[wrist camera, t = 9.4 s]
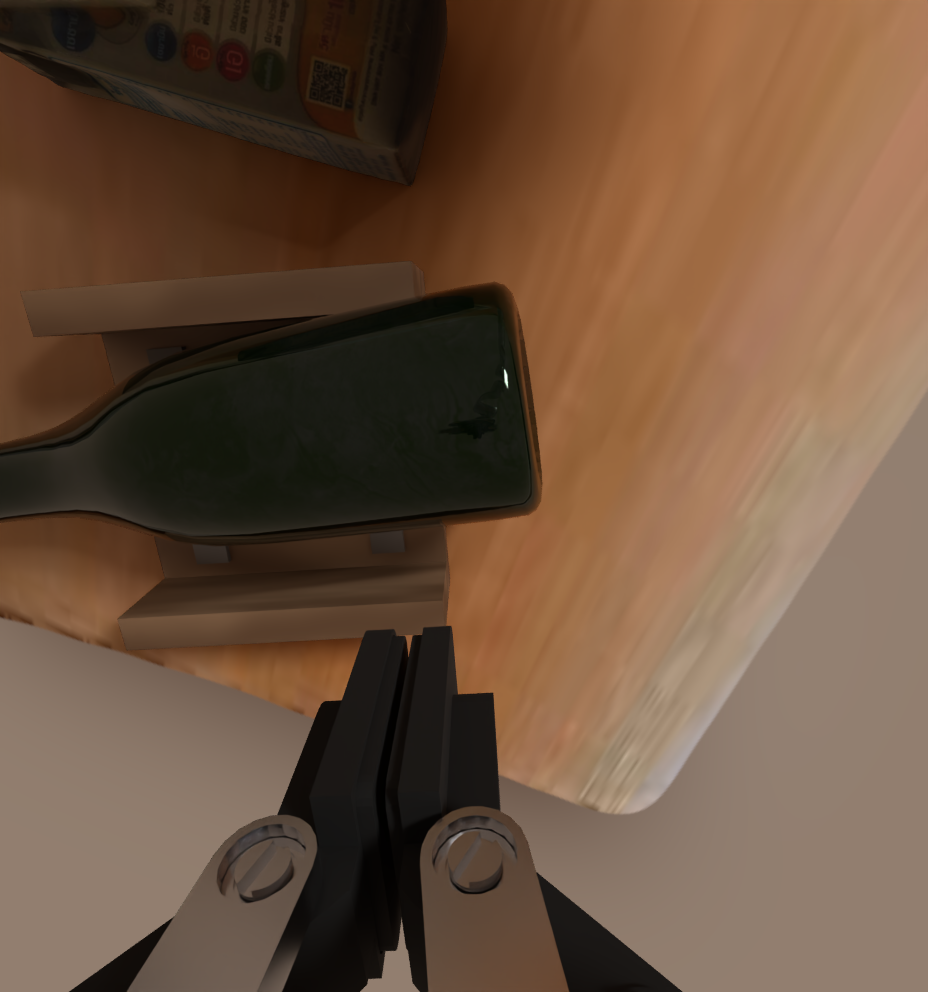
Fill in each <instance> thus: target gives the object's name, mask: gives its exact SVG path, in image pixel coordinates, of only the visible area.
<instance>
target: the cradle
mask: <svg viewBox="0 0 928 992" xmlns="http://www.w3.org/2000/svg"><path fill="white" fill-rule="evenodd" d="M20 293H21V296H22V299H23V303H24V306H25V309H26V313H27V316H28V320H29V323H30V326H31V330H32V333H33V336H34V337H40V336H62V335H85V334H102V338H103V342H104V346H105V349H106V353H107V357H108V361H109V365H110V369H111V373H112V376H113V380H114V384H115V385H117V384H118V383H120V382H121V381H122V380H124V379H125V378H127V377H128V376H129V375H131V374H132V373H133V372H135V371H137V370H139V369H141V368H143V367H145V366H148V365H150V364H152V363H154V362H156V361H159V360H161V359H163V358H165V357H167V356H170V355H172V354H174V353H176V352H180V351H183V350H187V349H190V348H194V347H198V346H201V345H205V344H209V343H212V342H216V341H220V340H223V339H227V338H231V337H235V336H239V335H244V334H248V333H253V332H257V331H262V330H266V329H270V328H275V327H279V326H284V325H288V324H293V323H297V322H301V321H306V320H310V319H315V318H319V317H324V316H329V315H333V314H338V313H342V312H347V311H351V310H356V309H360V308H365V307H369V306H374V305H378V304H383V303H387V302H392V301H397V300H402V299H406V298H411V297H416V296H421V295H425V285H424V274H423V271H422V270H420V269H419V268H418V267H417V266H416V265H415V264H414V263H413V262H412V261H404V262H392V263H379V264H366V265H353V266H340V267H327V268H315V269H302V270H289V271H276V272H263V273H250V274H237V275H225V276H212V277H199V278H186V279H173V280H160V281H148V282H135V283H122V284H109V285H96V286H83V287H71V288H58V289H45V290H32V291H20ZM154 538H155V542H156V546H157V549H158V553H159V557H160V561H161V565H162V569H163V573H164V576H165V579H164V580H163V581H161V582H160V583H159V584H158V585H157V586H156V587H154V588H153V589H152V590H151V591H150V592H149V593H147V594H146V595H145V596H144V597H143V598H141V599H140V600H139V601H138V602H137V603H136V604H134V605H133V606H132V607H131V608H130V609H129V610H127V611H126V612H125V613H124V614H123V615H122V616H120V617H119V618H118V619H117V620H118V623H119V627H120V630H121V633H122V637H123V640H124V644H125V647H126V650H145V649H163V648H181V647H199V646H218V645H236V644H254V643H272V642H291V641H309V640H327V639H345V638H363V637H364V634H365V632H366V631H367V630H384V629H394V630H395V632H396V636H400V635H418V634H422V632H423V628H424V627H439V626H446V622H447V610H448V598H449V586H450V574H449V563H448V551H447V540H446V528H445V526H442V527H434V528H424V529H415V530H405V531H395V532H386V533H376V534H366V535H357V536H347V537H337V538H327V539H316V540H306V541H296V542H286V543H272V544H255V545H237V546H205V545H194V544H182V543H178V542H174V541H170V540H166V539H162V538H159V537H155V536H154Z"/></svg>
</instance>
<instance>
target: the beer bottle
mask: <svg viewBox="0 0 928 992" xmlns="http://www.w3.org/2000/svg"><path fill="white" fill-rule="evenodd" d="M541 497H542V471H541V461H540V451H539V443H538V434H537V426H536V418H535V411H534V403H533V395H532V389H531V382H530V375H529V368H528V361H527V355H526V349H525V342H524V336H523V331H522V325H521V319H520V315H519V311H518V308H517V305H516V302H515V299H514V296H513V293H512V292H511V291H510V290H509V289H508V288H507V287H506V286H505V285H503V284H500V283H497V282H491V283H484V284H478V285H471V286H464V287H459V288H454V289H450V290H445V291H440V292H435V293H430V294H426V295H421V296H416V297H411V298H406V299H402V300H397V301H392V302H387V303H383V304H378V305H374V306H369V307H365V308H360V309H356V310H351V311H347V312H342V313H338V314H333V315H329V316H324V317H319V318H315V319H310V320H306V321H301V322H297V323H293V324H288V325H284V326H279V327H275V328H270V329H266V330H262V331H257V332H253V333H248V334H244V335H239V336H235V337H231V338H227V339H223V340H220V341H216V342H212V343H209V344H205V345H201V346H198V347H194V348H190V349H187V350H183V351H180V352H176V353H174V354H172V355H170V356H167V357H165V358H163V359H161V360H159V361H156V362H154V363H152V364H150V365H148V366H145V367H143V368H141V369H139V370H137V371H135V372H133V373H132V374H131V375H129V376H128V377H127V378H125V379H124V380H122V381H121V382H120V383H118V384H117V385H115V386H114V387H113V388H111V389H110V390H109V391H108V392H106V393H105V394H104V395H102V396H101V397H100V398H99V399H97V400H96V401H95V402H93V403H92V404H91V405H90V406H88V407H87V408H85V409H84V410H83V411H81V412H80V413H78V414H77V415H75V416H74V417H73V418H71V419H70V420H68V421H66V422H64V423H62V424H60V425H59V426H57V427H54V428H51V429H49V430H46V431H43V432H40V433H37V434H35V435H32V436H28V437H24V438H20V439H16V440H12V441H8V442H4V443H0V523H3V522H12V521H20V520H32V519H46V518H81V519H88V520H95V521H102V522H105V523H109V524H113V525H117V526H120V527H124V528H127V529H130V530H134V531H137V532H140V533H144V534H147V535H151V536H155V537H159V538H162V539H166V540H170V541H174V542H178V543H182V544H194V545H205V546H237V545H255V544H272V543H286V542H296V541H306V540H316V539H327V538H337V537H347V536H357V535H366V534H376V533H386V532H395V531H405V530H415V529H424V528H434V527H442V526H451V525H460V524H469V523H478V522H486V521H495V520H502V519H508V518H514V517H520V516H526V515H530V514H531V513H533V512H534V511H536V510H537V508H538V506H539V504H540V502H541Z"/></svg>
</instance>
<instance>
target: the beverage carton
mask: <svg viewBox="0 0 928 992" xmlns="http://www.w3.org/2000/svg"><path fill="white" fill-rule="evenodd" d="M446 38H447V10H446V0H0V51H1V52H3V53H4V54H6V55H7V56H9V57H11V58H13V59H14V60H16V61H18V62H20V63H22V64H23V65H25V66H26V67H28V68H30V69H31V70H33V71H35V72H36V73H38V74H40V75H42V76H45V77H47V78H48V79H50V80H51V81H53V82H54V83H55V84H57V85H59V86H62V87H65V88H69V89H72V90H76V91H79V92H82V93H85V94H89V95H92V96H96V97H100V98H104V99H108V100H112V101H116V102H119V103H123V104H126V105H130V106H133V107H136V108H140V109H143V110H146V111H149V112H153V113H156V114H159V115H162V116H166V117H169V118H173V119H177V120H180V121H184V122H187V123H190V124H194V125H197V126H200V127H204V128H207V129H210V130H214V131H217V132H220V133H224V134H227V135H230V136H233V137H236V138H239V139H242V140H246V141H249V142H253V143H256V144H259V145H263V146H266V147H270V148H273V149H277V150H280V151H283V152H287V153H290V154H293V155H296V156H300V157H304V158H307V159H311V160H315V161H318V162H322V163H325V164H329V165H332V166H336V167H339V168H343V169H346V170H350V171H354V172H358V173H362V174H366V175H370V176H375V177H377V178H380V179H383V180H389V181H395V182H399V183H402V184H405V185H408V186H411V185H412V183H413V181H414V178H415V174H416V171H417V167H418V164H419V160H420V156H421V152H422V148H423V144H424V140H425V136H426V132H427V128H428V124H429V120H430V115H431V111H432V107H433V103H434V98H435V94H436V90H437V85H438V81H439V76H440V71H441V66H442V61H443V56H444V50H445V45H446Z"/></svg>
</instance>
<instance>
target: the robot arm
mask: <svg viewBox="0 0 928 992" xmlns="http://www.w3.org/2000/svg"><path fill="white" fill-rule="evenodd" d="M401 917H402V923H403V930H404V937H405V944H406V949H407V950H408V954H409V961H410V968H411V975H412V982H413V984H414V985H415V986H416V988H417V989H418V990H419V991H420V992H682V991H681V990H680V989H678V988H677V987H676V986H675V985H673V984H672V983H671V982H670V981H669V980H667V979H666V978H665V977H664V976H663V975H661V974H660V973H659V972H658V971H656V970H655V969H654V968H653V967H652V966H650V965H649V964H648V963H647V962H646V961H644V960H643V959H642V958H641V957H639V956H638V955H637V954H636V953H635V952H633V951H632V950H631V949H630V948H628V947H627V946H626V945H625V944H624V943H622V942H621V941H620V940H619V939H618V938H616V937H615V936H614V935H612V934H611V933H610V932H609V931H608V930H607V929H605V928H604V927H603V926H602V925H600V924H599V923H598V922H597V921H595V920H594V919H593V918H592V917H591V916H589V915H588V914H587V913H586V912H585V911H583V910H582V909H581V908H580V907H578V906H577V905H576V904H575V903H574V902H572V901H571V900H570V899H569V898H567V897H566V896H565V895H564V894H563V893H561V892H560V891H559V890H558V889H557V888H555V887H554V886H553V885H552V884H550V883H549V882H548V881H547V880H546V879H544V878H543V877H542V876H541V875H539V874H538V873H537V872H536V870H535V866H534V863H533V859H532V856H531V852H530V848H529V845H528V842H527V840H526V837H525V835H524V834H523V831H522V829H521V827H520V826H519V825H518V824H517V823H516V822H515V821H514V820H513V819H512V818H511V817H509V816H508V815H506V814H504V813H502V812H501V811H500V795H499V778H498V761H497V745H496V729H495V713H494V698H493V693H477V694H458V690H457V679H456V668H455V656H454V645H453V634H452V627H451V626H439V627H424V628H423V632H422V635H413V637H412V642H411V648H410V653H409V657H408V649H407V641H406V637H405V636H396V632H395V630H394V629H384V630H367V631H366V632H365V634H364V637H363V640H362V643H361V646H360V648H359V651H358V654H357V657H356V660H355V663H354V666H353V669H352V672H351V675H350V678H349V681H348V684H347V687H346V690H345V693H344V696H343V699H342V700H340V701H325V702H323V703H322V704H321V706H320V708H319V710H318V712H317V715H316V717H315V720H314V722H313V725H312V727H311V730H310V733H309V735H308V738H307V740H306V743H305V745H304V748H303V751H302V753H301V756H300V758H299V761H298V763H297V766H296V768H295V771H294V774H293V776H292V779H291V781H290V784H289V787H288V789H287V792H286V794H285V797H284V799H283V802H282V805H281V807H280V810H279V812H278V815H273V816H268V817H265V818H262V819H258V820H255V821H253V822H252V823H250V824H248V825H246V826H244V827H243V828H240V829H239V830H238V831H236V832H235V833H234V834H233V835H232V836H231V837H229V838H228V839H227V840H225V842H224V843H223V844H222V845H221V846H220V848H219V849H218V850H217V852H216V853H215V854H214V855H213V857H212V858H211V860H210V862H209V863H208V865H207V866H206V868H205V869H204V871H203V873H202V874H201V875H200V877H199V879H198V880H197V882H196V883H195V885H194V886H193V888H192V890H191V891H190V893H189V894H188V896H187V897H186V899H185V901H184V902H183V904H182V906H181V907H180V909H179V910H178V912H177V913H176V915H175V916H174V917H173V918H172V919H170V920H169V921H167V922H166V923H165V924H163V925H162V926H160V927H159V928H158V929H156V930H155V931H154V932H152V933H151V934H149V935H148V936H146V937H145V938H144V939H142V940H141V941H139V942H138V943H137V944H135V945H134V946H132V947H131V948H130V949H128V950H127V951H125V952H124V953H123V954H121V955H120V956H118V957H117V958H116V959H114V960H113V961H111V962H110V963H109V964H107V965H106V966H104V967H103V968H102V969H100V970H99V971H98V972H96V973H95V974H93V975H92V976H90V977H89V978H88V979H86V980H85V981H83V982H82V983H81V984H79V985H78V986H77V987H75V988H74V989H72V990H71V991H69V992H360V991H361V990H362V989H363V988H364V987H365V986H366V985H367V982H368V979H375V978H382V971H383V964H384V957H385V951H396V949H397V947H398V941H399V933H400V925H401Z"/></svg>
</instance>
